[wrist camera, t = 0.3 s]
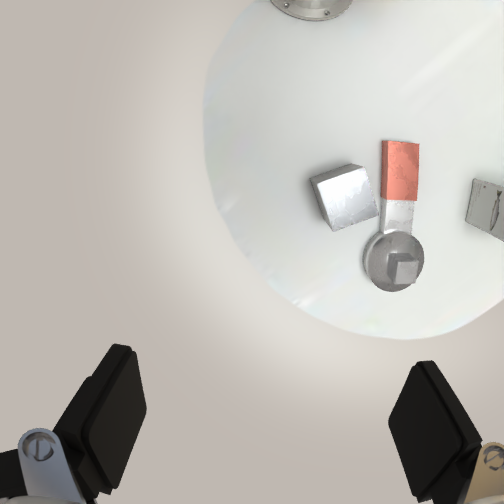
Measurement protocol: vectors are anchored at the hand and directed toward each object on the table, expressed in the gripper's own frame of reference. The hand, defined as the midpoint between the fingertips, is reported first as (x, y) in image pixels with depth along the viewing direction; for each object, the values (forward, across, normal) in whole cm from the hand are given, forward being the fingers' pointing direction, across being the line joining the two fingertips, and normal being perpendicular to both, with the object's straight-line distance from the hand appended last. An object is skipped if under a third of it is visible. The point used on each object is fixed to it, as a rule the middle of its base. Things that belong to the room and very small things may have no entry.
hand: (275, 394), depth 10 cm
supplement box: (+35, -36, -4) cm, 50 cm away
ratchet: (+35, -19, 0) cm, 40 cm away
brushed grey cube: (+35, -10, -2) cm, 36 cm away
